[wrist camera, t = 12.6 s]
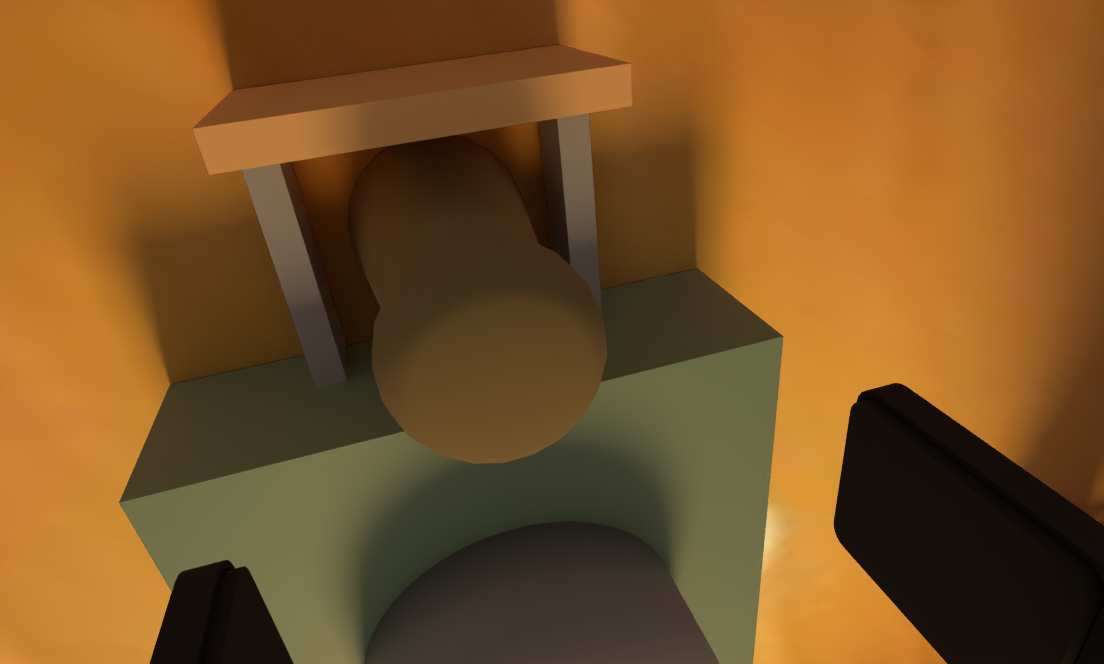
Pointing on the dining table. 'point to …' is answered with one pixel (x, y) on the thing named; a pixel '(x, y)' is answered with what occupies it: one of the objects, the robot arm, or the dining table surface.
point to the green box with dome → (453, 485)
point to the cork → (471, 305)
